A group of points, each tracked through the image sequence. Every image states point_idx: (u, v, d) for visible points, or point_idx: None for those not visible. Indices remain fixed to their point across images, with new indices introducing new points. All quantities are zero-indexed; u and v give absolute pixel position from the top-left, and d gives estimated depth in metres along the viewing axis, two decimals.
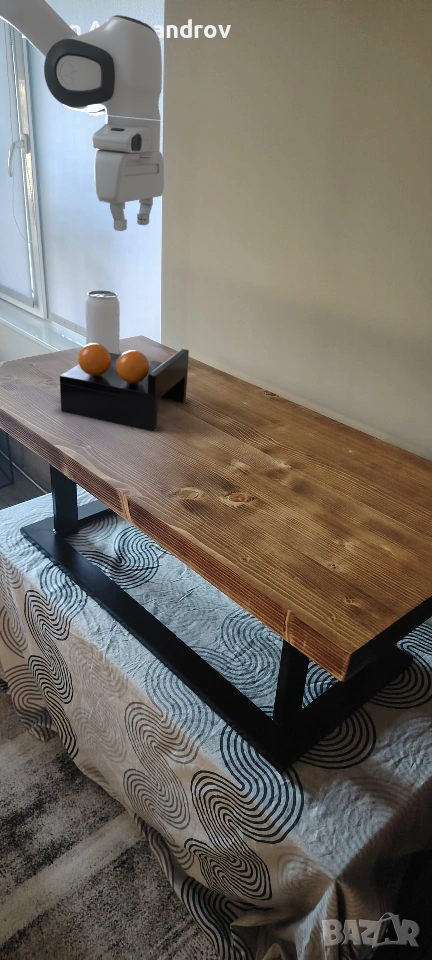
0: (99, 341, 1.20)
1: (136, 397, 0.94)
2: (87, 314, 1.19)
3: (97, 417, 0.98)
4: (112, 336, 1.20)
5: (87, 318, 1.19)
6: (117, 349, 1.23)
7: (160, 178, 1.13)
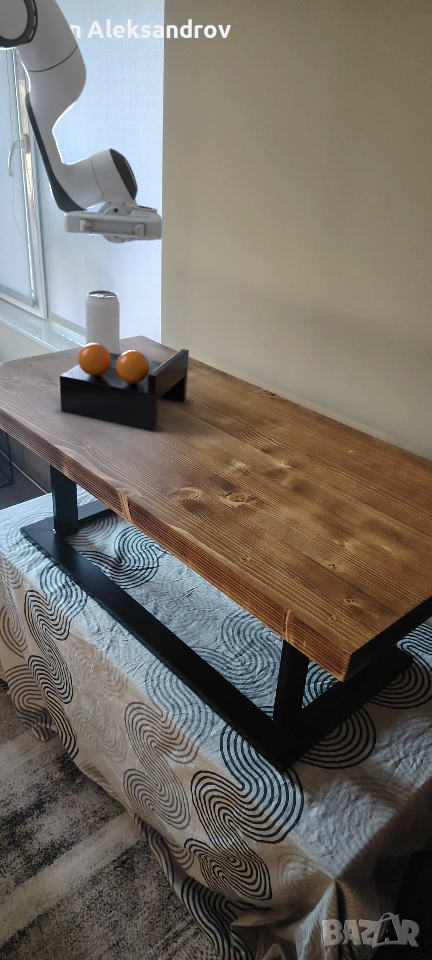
0: (99, 341, 1.20)
1: (136, 397, 0.94)
2: (87, 314, 1.19)
3: (97, 417, 0.98)
4: (112, 336, 1.20)
5: (87, 318, 1.19)
6: (117, 349, 1.23)
7: None
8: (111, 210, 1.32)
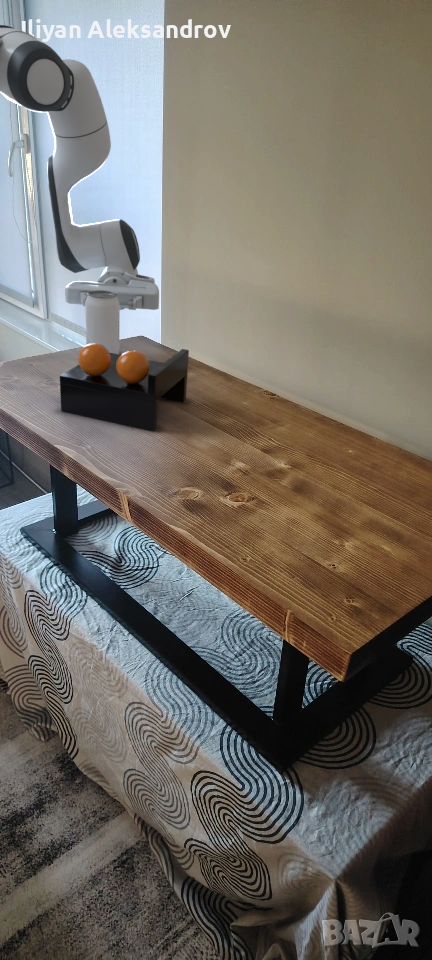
0: (99, 341, 1.20)
1: (136, 397, 0.94)
2: (87, 314, 1.19)
3: (97, 417, 0.98)
4: (112, 336, 1.20)
5: (87, 318, 1.19)
6: (117, 349, 1.23)
7: None
8: (110, 281, 1.38)
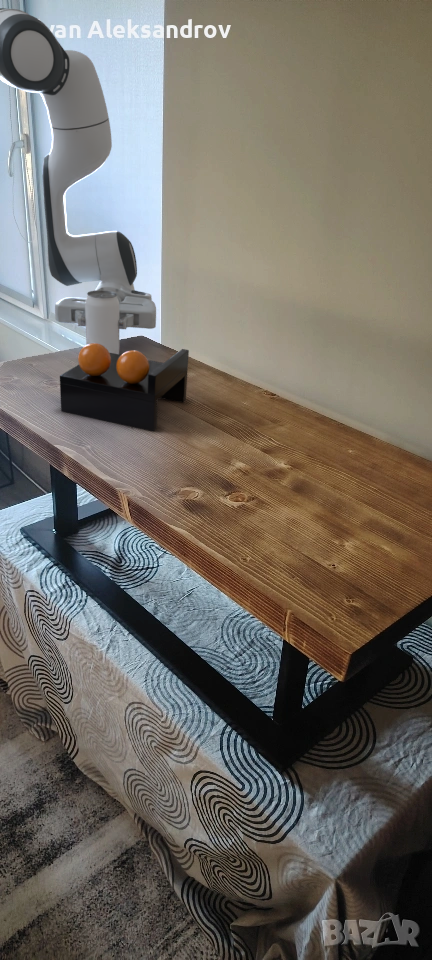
0: (99, 341, 1.20)
1: (136, 397, 0.94)
2: (87, 314, 1.19)
3: (97, 417, 0.98)
4: (111, 335, 1.20)
5: (87, 318, 1.19)
6: (117, 349, 1.23)
7: None
8: None
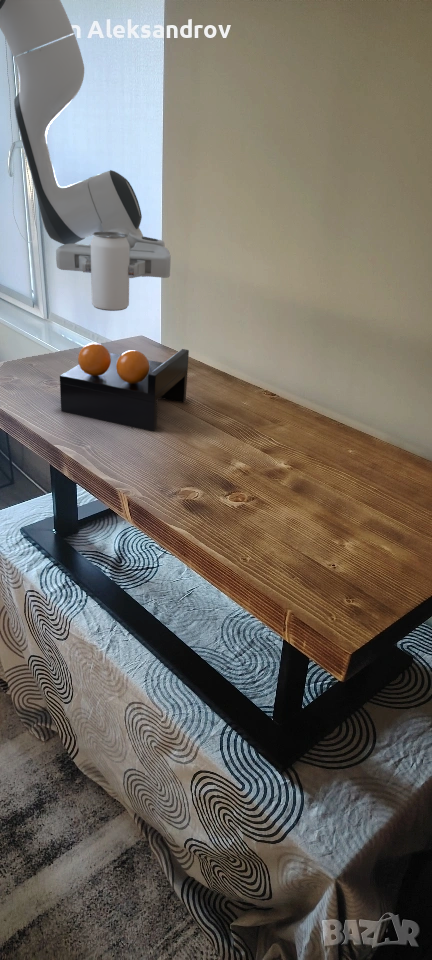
0: (107, 289, 1.05)
1: (136, 397, 0.94)
2: (93, 257, 1.04)
3: (97, 417, 0.98)
4: (121, 283, 1.06)
5: (93, 262, 1.05)
6: (127, 299, 1.09)
7: None
8: None
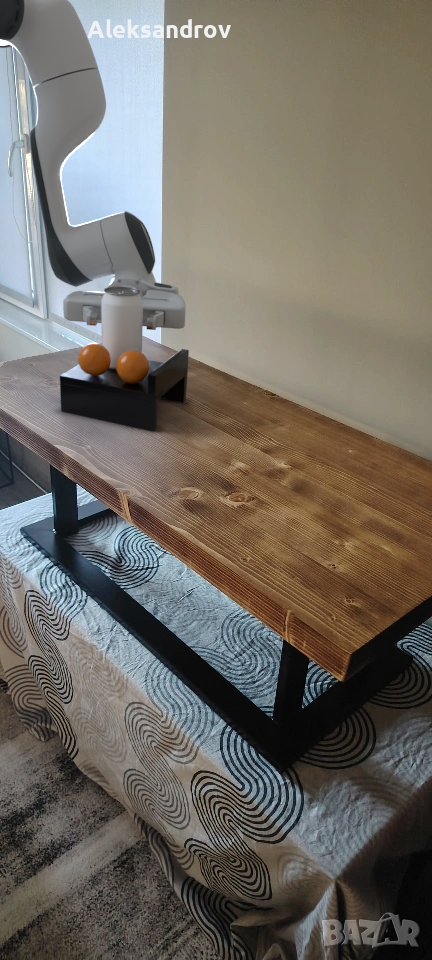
0: (118, 348, 0.99)
1: (136, 397, 0.94)
2: (104, 315, 0.97)
3: (97, 417, 0.98)
4: (133, 342, 0.99)
5: (103, 320, 0.98)
6: None
7: None
8: None
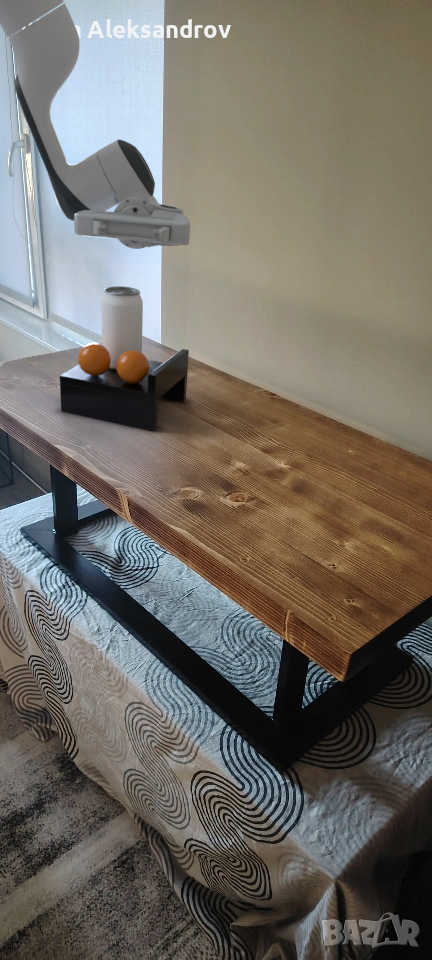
0: (118, 348, 0.99)
1: (136, 397, 0.94)
2: (103, 315, 0.97)
3: (97, 417, 0.98)
4: (133, 342, 0.99)
5: (103, 320, 0.98)
6: None
7: None
8: (130, 210, 1.12)
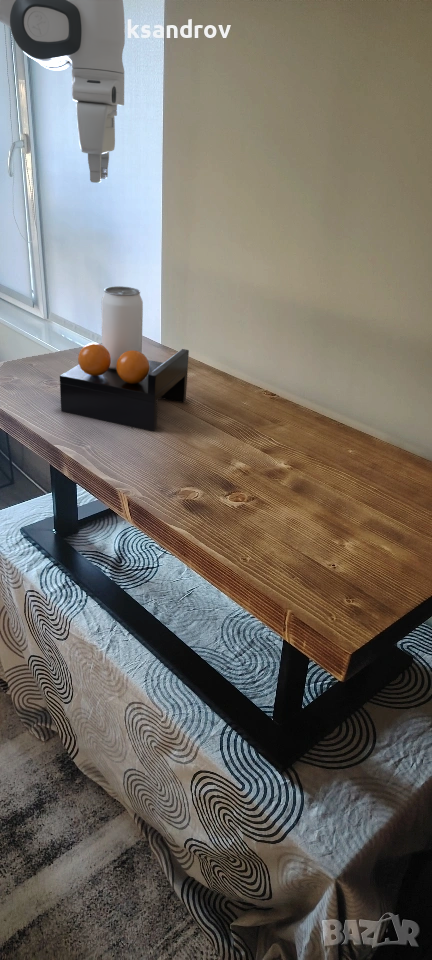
0: (118, 348, 0.99)
1: (136, 397, 0.94)
2: (103, 315, 0.97)
3: (97, 417, 0.98)
4: (133, 341, 0.99)
5: (103, 320, 0.98)
6: None
7: (114, 132, 1.18)
8: None
